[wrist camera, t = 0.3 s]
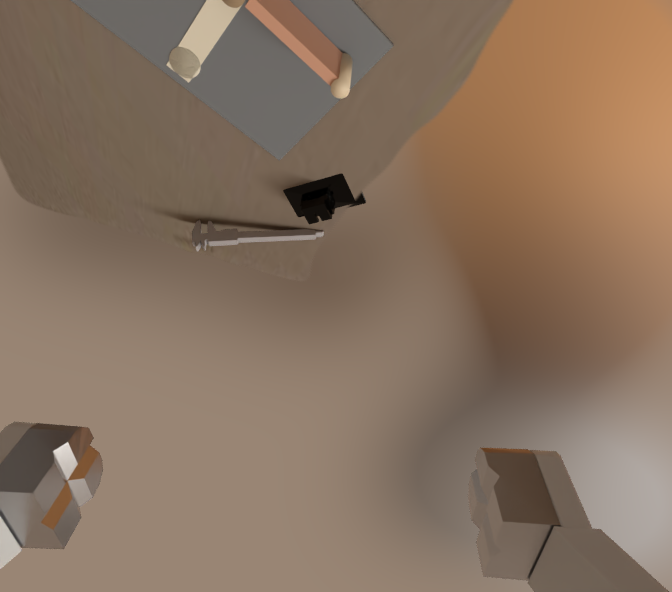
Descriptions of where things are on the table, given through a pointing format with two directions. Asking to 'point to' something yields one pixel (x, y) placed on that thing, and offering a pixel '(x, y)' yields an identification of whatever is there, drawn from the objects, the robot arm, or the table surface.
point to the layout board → (244, 58)
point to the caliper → (246, 236)
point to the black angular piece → (322, 198)
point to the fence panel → (305, 42)
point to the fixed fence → (233, 3)
